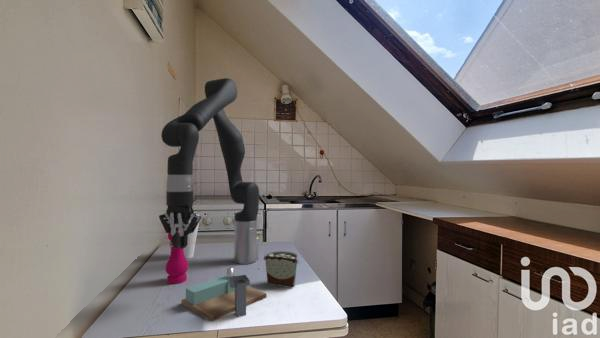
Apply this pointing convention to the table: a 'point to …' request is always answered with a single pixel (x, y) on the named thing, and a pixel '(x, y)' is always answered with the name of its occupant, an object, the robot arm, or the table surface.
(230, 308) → the board
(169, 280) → the pepper mill
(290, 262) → the food container
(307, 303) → the table surface
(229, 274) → the capsule
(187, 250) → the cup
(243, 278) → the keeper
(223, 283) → the teal bar with hole
